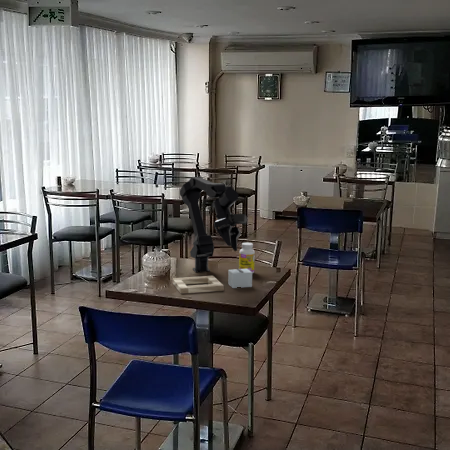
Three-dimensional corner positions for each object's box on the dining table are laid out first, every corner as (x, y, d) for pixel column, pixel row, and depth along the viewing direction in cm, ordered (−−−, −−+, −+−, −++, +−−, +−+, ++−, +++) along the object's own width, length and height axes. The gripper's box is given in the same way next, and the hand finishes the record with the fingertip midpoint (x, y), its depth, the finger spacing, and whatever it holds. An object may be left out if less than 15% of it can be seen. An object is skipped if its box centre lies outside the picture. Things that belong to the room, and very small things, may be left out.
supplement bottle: (237, 274, 260) (237, 244, 257) (240, 270, 266) (241, 241, 264) (252, 275, 258) (253, 245, 256) (255, 271, 264) (256, 242, 262)
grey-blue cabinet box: (228, 284, 244) (228, 268, 243) (246, 283, 246) (247, 267, 245) (232, 288, 238) (232, 272, 237) (251, 287, 241) (252, 271, 240)
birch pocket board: (172, 283, 244) (172, 278, 244) (212, 280, 249) (213, 275, 249) (180, 293, 230) (180, 288, 230) (223, 290, 235) (223, 285, 234)
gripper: (235, 199, 233) (246, 236, 228) (247, 212, 251) (257, 247, 246) (209, 208, 235) (219, 245, 230) (222, 220, 253) (231, 255, 248)
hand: (232, 248), depth 239 cm, fingers open, 9 cm apart
